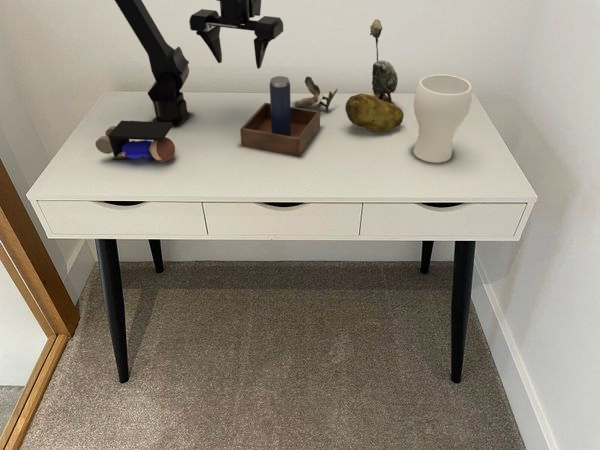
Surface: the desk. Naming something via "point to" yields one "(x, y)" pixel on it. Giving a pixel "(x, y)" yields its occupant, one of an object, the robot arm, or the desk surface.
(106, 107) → the desk surface
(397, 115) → the potato
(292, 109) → the desk bin
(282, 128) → the can
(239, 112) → the desk surface
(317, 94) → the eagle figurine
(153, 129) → the figurine character
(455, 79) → the cup
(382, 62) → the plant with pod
